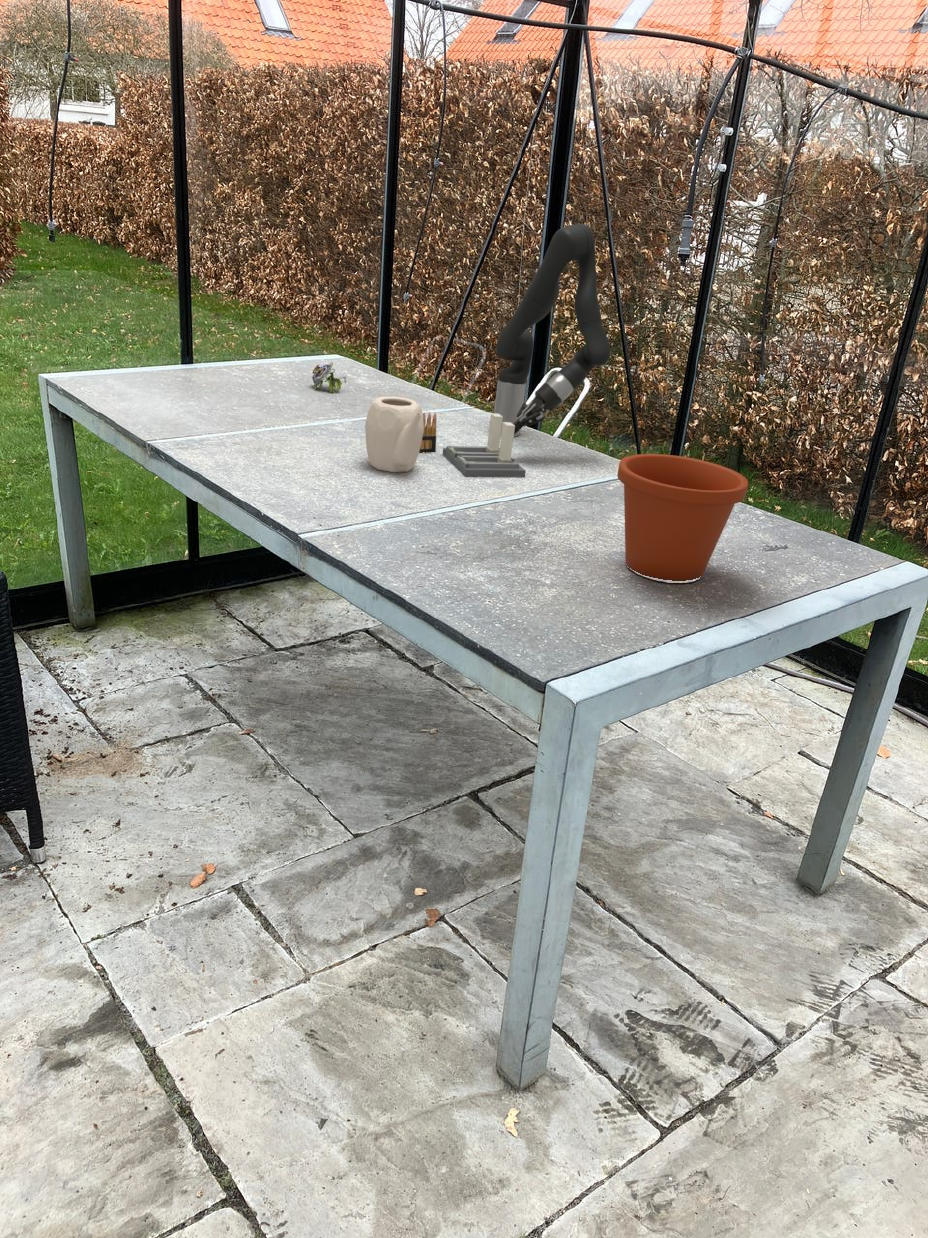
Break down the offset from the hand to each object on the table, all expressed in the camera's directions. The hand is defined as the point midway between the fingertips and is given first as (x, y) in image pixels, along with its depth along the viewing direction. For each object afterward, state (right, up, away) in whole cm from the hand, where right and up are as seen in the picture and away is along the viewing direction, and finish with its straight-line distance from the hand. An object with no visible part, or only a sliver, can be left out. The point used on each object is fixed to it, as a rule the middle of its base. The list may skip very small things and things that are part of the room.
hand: (511, 431), depth 288 cm
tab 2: (-2, -10, -7) cm, 13 cm away
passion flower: (-64, +28, +66) cm, 96 cm away
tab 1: (-6, -6, +1) cm, 8 cm away
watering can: (-34, -14, -16) cm, 40 cm away
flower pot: (+32, -44, -66) cm, 86 cm away
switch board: (-8, -11, -3) cm, 14 cm away
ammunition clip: (-28, -6, +3) cm, 28 cm away
